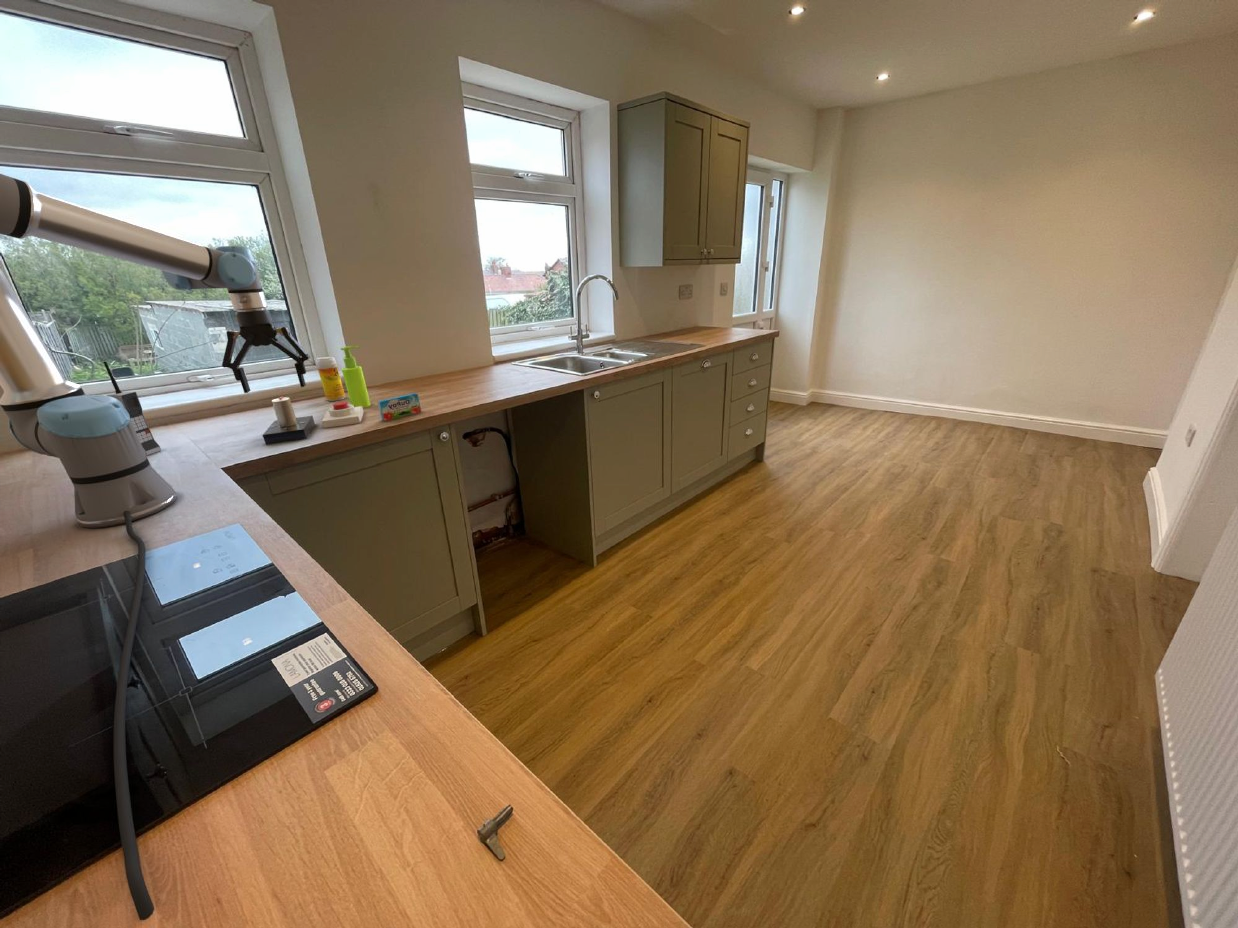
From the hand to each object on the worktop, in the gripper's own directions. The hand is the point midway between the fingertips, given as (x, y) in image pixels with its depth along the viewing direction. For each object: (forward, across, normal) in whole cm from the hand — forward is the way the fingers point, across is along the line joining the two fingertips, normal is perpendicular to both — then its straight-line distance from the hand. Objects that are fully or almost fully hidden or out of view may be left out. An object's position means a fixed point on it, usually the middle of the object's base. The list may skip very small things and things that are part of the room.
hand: (275, 389), depth 140 cm
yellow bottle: (+13, +7, +38) cm, 41 cm away
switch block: (+13, +13, +8) cm, 21 cm away
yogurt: (+14, +30, +3) cm, 33 cm away
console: (+14, 0, 0) cm, 14 cm away
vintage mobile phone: (+14, -35, +2) cm, 37 cm away
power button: (+10, +13, +8) cm, 19 cm away
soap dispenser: (+13, +17, +23) cm, 32 cm away
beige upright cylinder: (+11, 0, 0) cm, 11 cm away
